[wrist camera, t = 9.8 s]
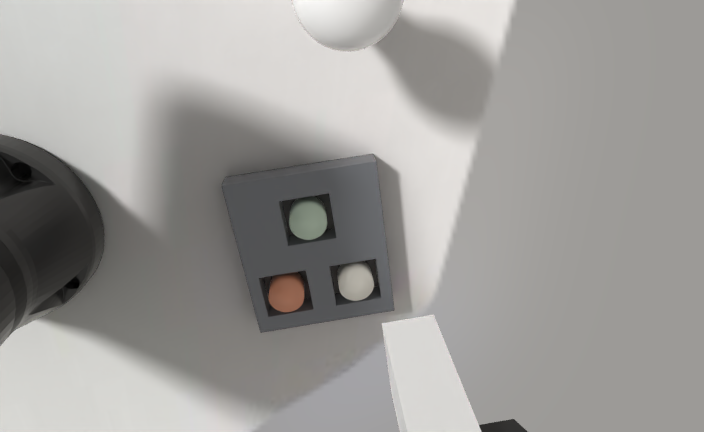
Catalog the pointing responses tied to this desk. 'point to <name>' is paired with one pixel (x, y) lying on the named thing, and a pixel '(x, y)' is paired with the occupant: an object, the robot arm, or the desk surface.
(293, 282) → the rust button
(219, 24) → the desk surface
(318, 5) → the lightbulb
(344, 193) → the panel
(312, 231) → the sage button
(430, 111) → the desk surface
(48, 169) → the robot arm
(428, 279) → the desk surface
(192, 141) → the desk surface
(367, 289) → the cream button
